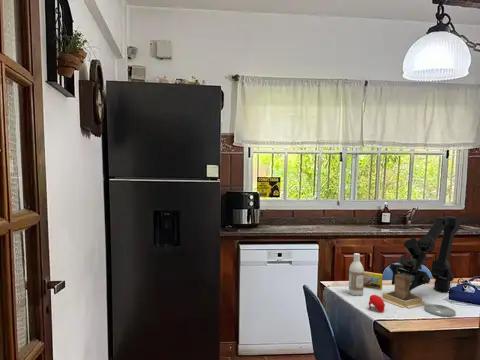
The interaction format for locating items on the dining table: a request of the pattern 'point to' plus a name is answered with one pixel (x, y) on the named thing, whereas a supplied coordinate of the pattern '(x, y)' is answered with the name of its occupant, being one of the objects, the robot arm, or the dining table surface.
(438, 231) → the robot arm
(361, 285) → the bath foam
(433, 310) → the plate
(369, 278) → the candy box
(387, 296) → the wooden square frame
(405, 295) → the walnut box
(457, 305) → the dining table surface
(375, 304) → the red rounded piece
